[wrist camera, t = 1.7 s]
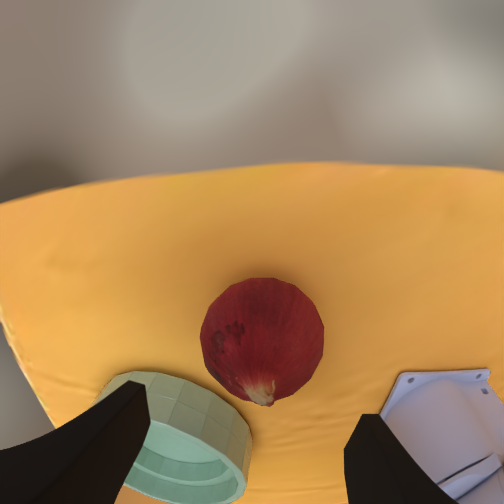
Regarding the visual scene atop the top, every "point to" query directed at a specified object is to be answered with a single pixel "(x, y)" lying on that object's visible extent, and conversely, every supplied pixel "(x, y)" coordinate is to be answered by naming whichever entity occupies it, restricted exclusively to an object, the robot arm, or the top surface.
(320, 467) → the top surface
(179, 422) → the bowl
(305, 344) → the onion
